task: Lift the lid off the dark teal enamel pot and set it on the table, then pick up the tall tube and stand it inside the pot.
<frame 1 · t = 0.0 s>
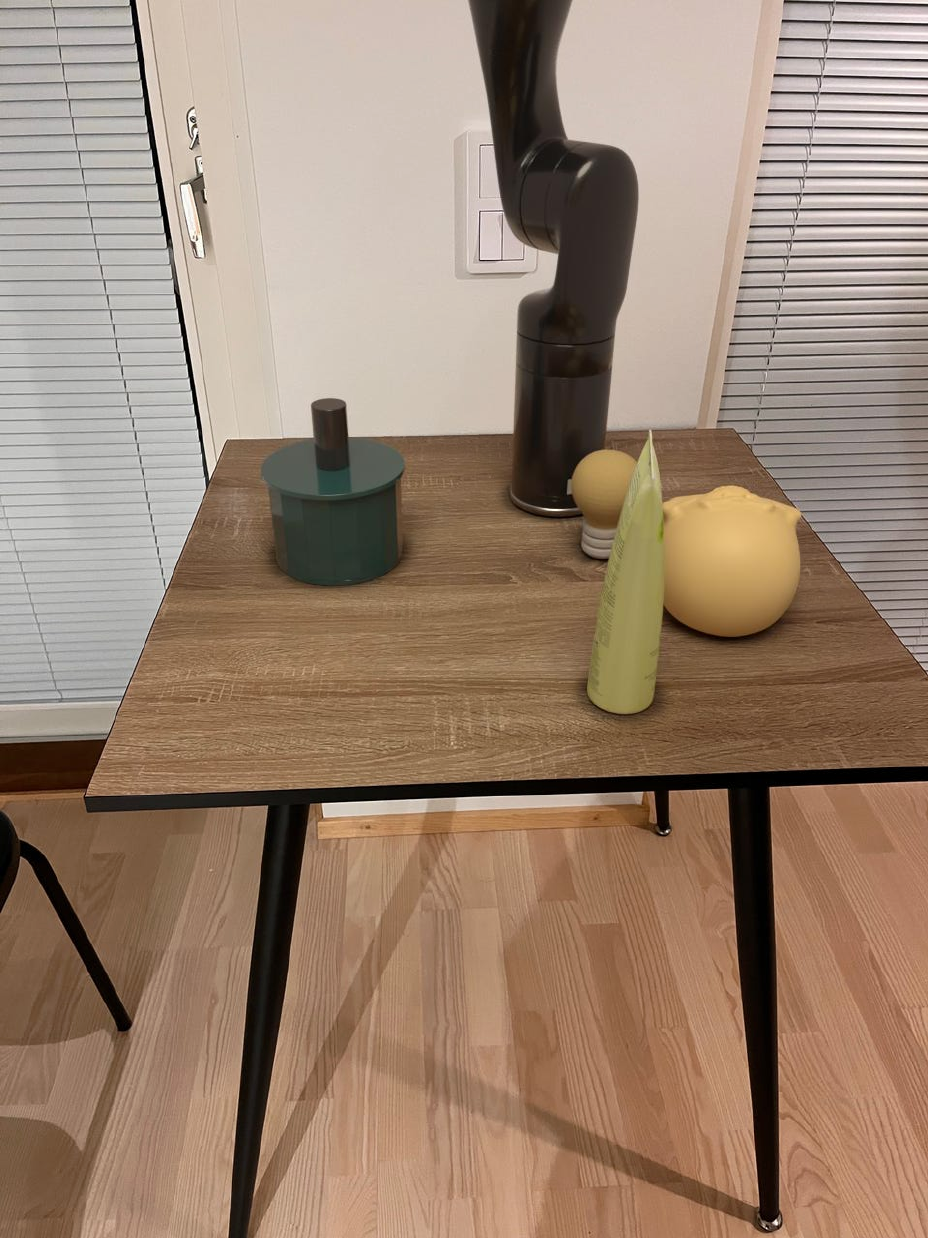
pot lid: (333, 469, 84), point 8 cm above the table, touching pot
pot: (339, 553, 89), on the table
light bulb: (600, 554, 89), on the table
tube: (619, 699, 71), on the table
sculpture: (716, 614, 81), on the table
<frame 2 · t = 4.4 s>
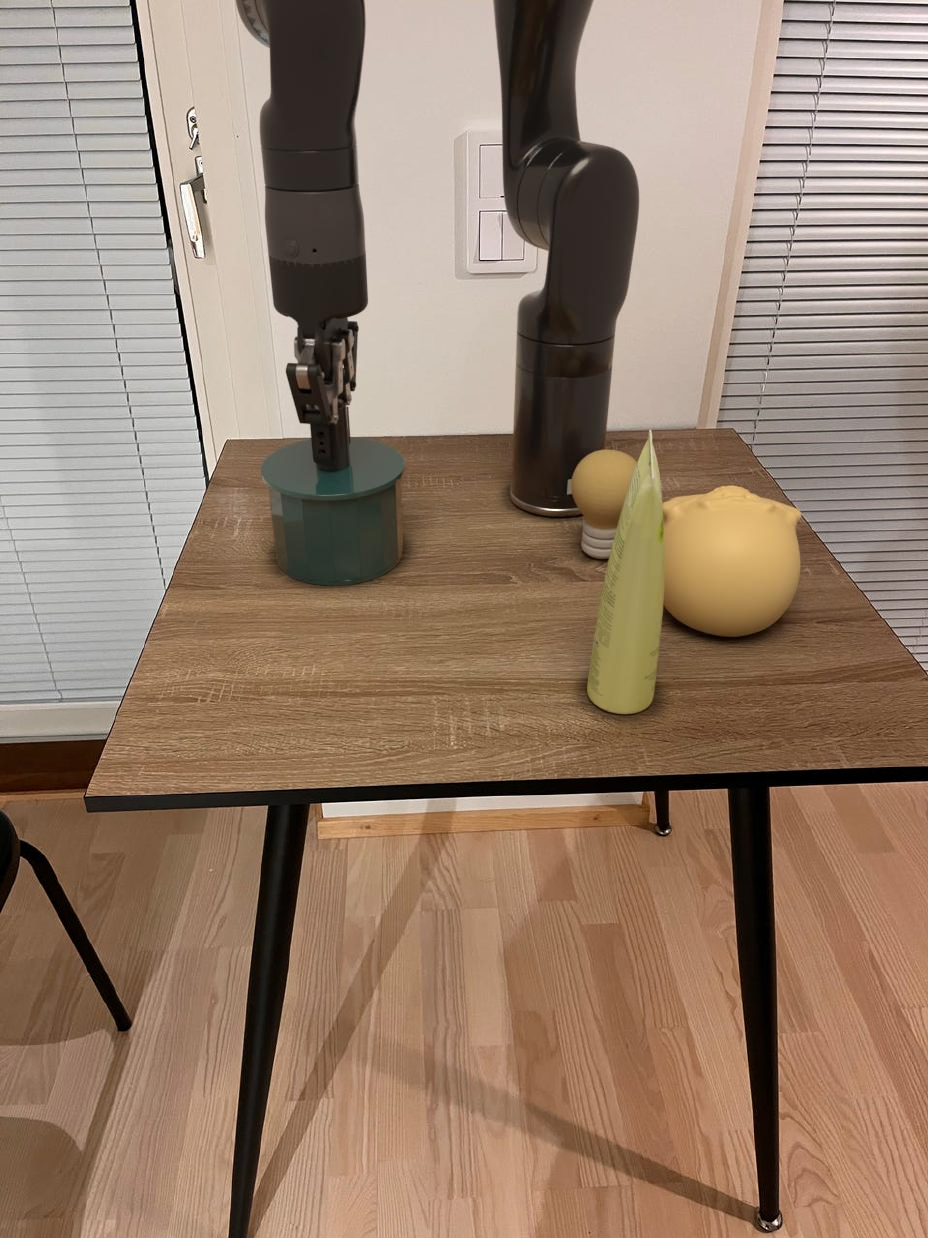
hand: (332, 454, 83), 10 cm above the table, tool pointing down, fingers closed on pot lid, 3 cm apart
pot lid: (333, 469, 84), point 9 cm above the table, touching gripper, pot
everything else where it was.
when the fingers open (2 cm above the table, at t = 13.0 s): pot lid stays where it is, point 1 cm above the table.
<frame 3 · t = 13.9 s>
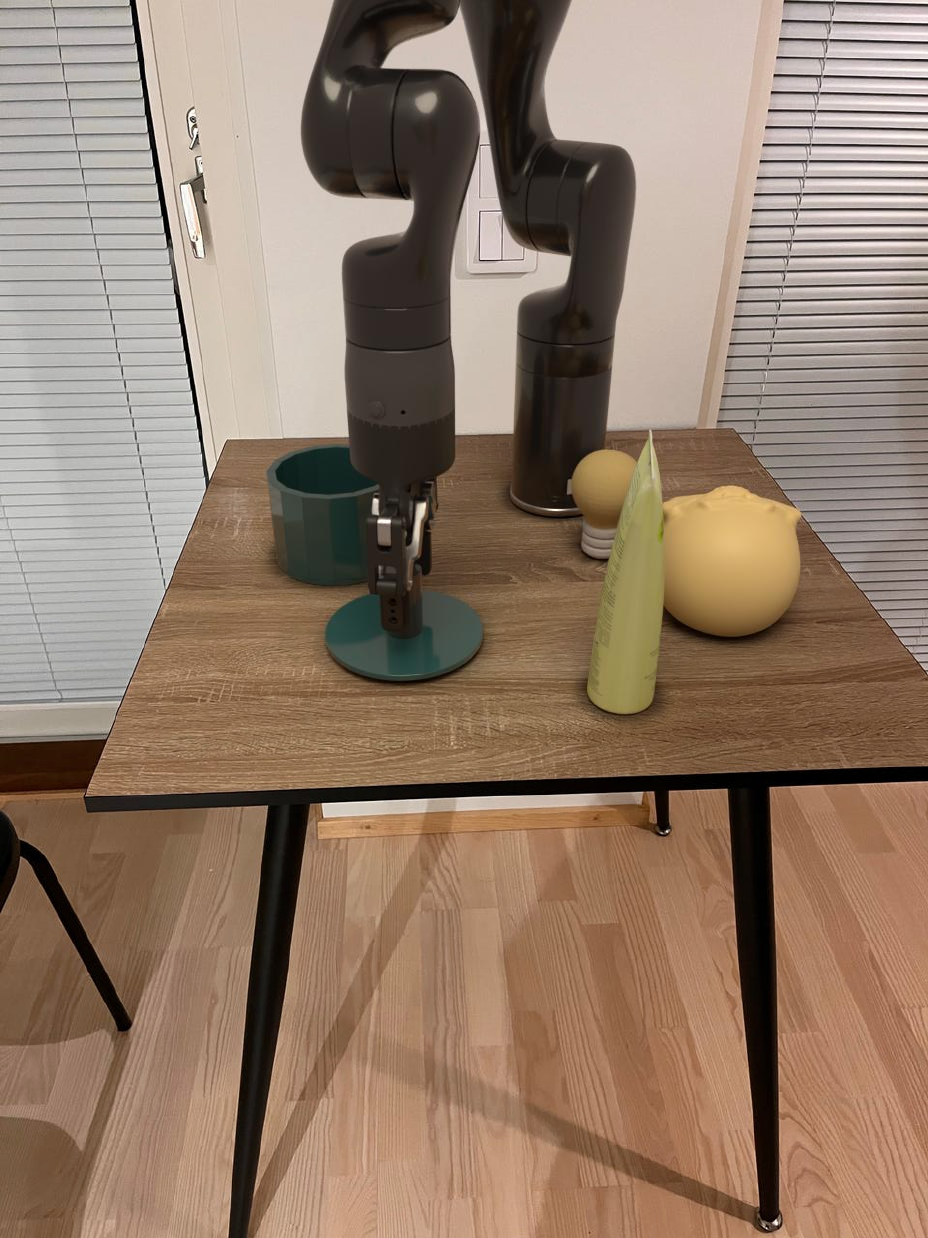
hand: (408, 599, 75), 4 cm above the table, tool pointing down, fingers open, 8 cm apart
pot lid: (404, 634, 77), point 1 cm above the table
everything else where it was.
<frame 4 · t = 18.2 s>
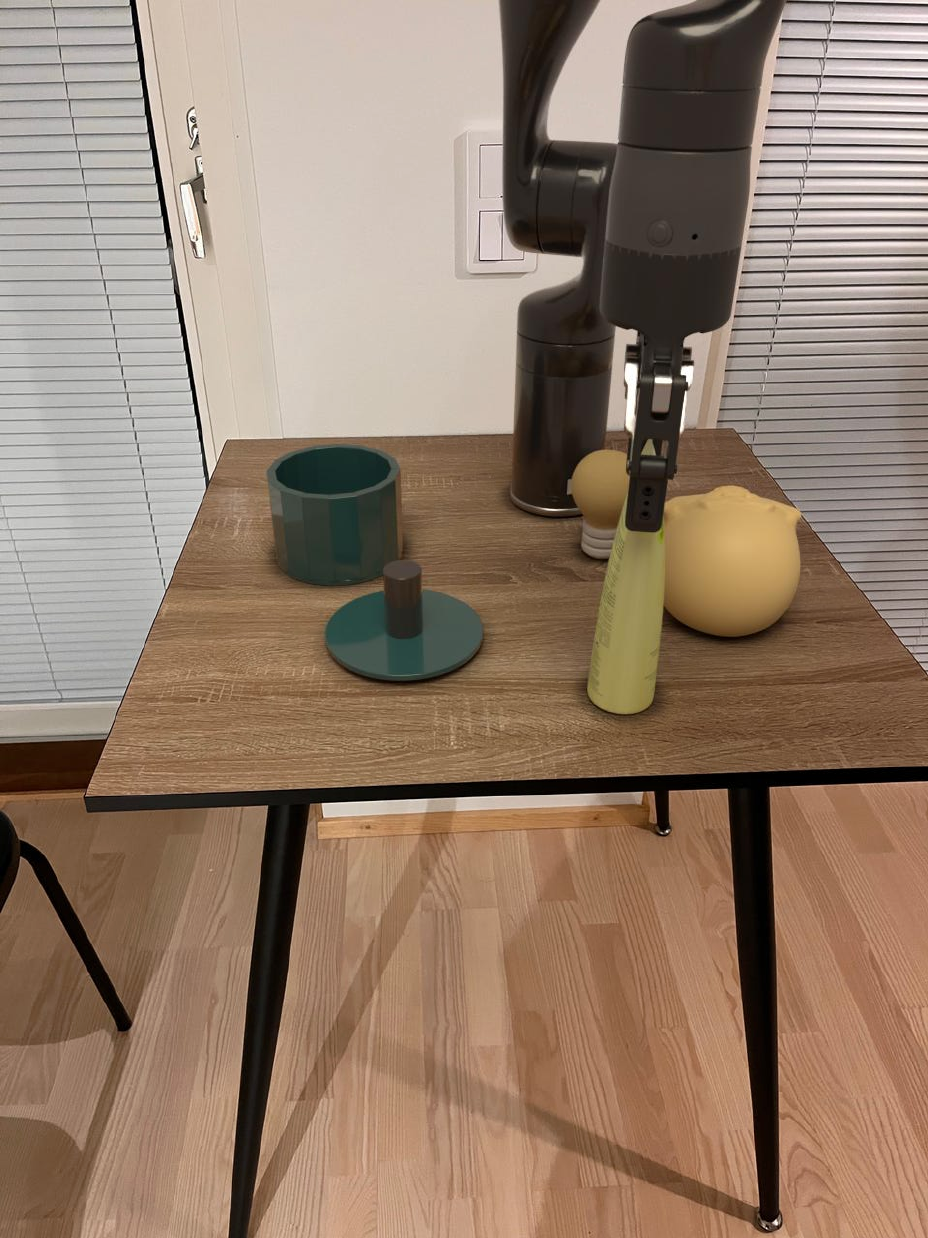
hand: (642, 500, 62), 16 cm above the table, tool pointing down, fingers closed on tube, 7 cm apart
tube: (619, 699, 71), on the table, touching gripper
everything else where it was.
when the fingers open (17 cm above the table, at t = 28.9 s): tube stays where it is, resting on pot.
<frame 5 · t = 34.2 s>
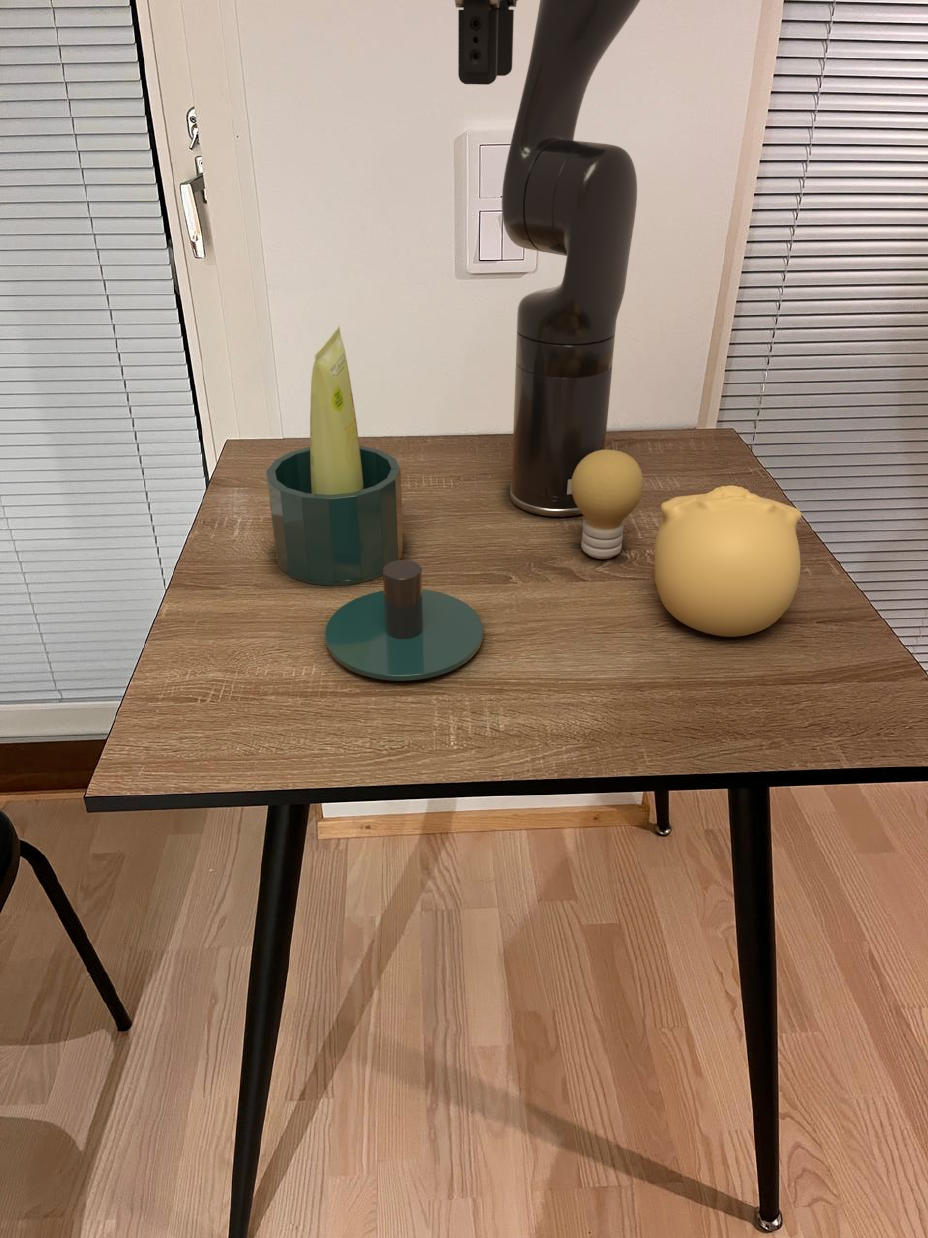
hand: (486, 79, 60), 39 cm above the table, tool pointing down, fingers open, 8 cm apart
tube: (341, 550, 89), resting on pot
everything else where it was.
at the end: pot lid inside the target area (0.2 cm from its centre), point 0.6 cm above the table; tube inside the target area in the pot (0.1 cm from its centre), point 0.3 cm above the pot's base; tube tilted 0° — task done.
